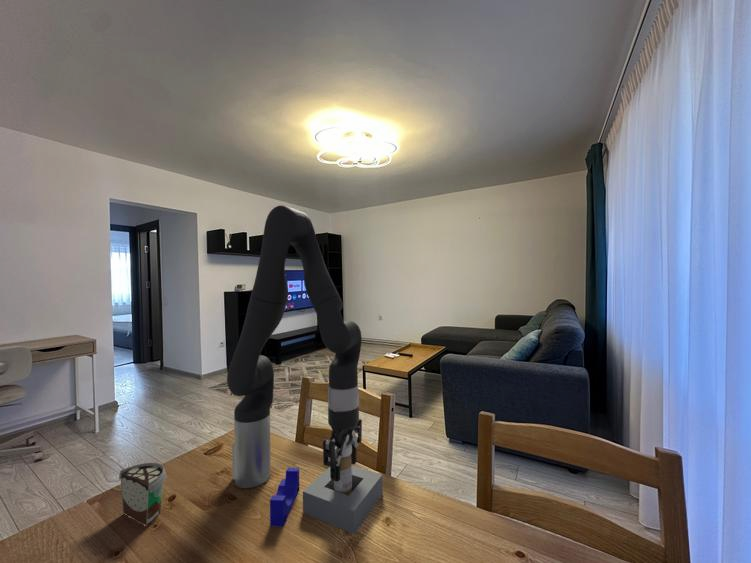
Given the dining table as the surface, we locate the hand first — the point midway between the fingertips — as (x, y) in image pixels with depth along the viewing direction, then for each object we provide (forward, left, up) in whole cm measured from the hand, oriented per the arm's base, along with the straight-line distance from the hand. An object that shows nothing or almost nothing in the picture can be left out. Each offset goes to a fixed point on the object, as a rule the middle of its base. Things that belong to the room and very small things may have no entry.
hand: (344, 471), depth 76 cm
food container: (-40, -23, -8) cm, 47 cm away
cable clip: (-13, -8, -8) cm, 17 cm away
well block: (0, 0, -8) cm, 8 cm away
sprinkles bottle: (0, 0, -7) cm, 7 cm away
